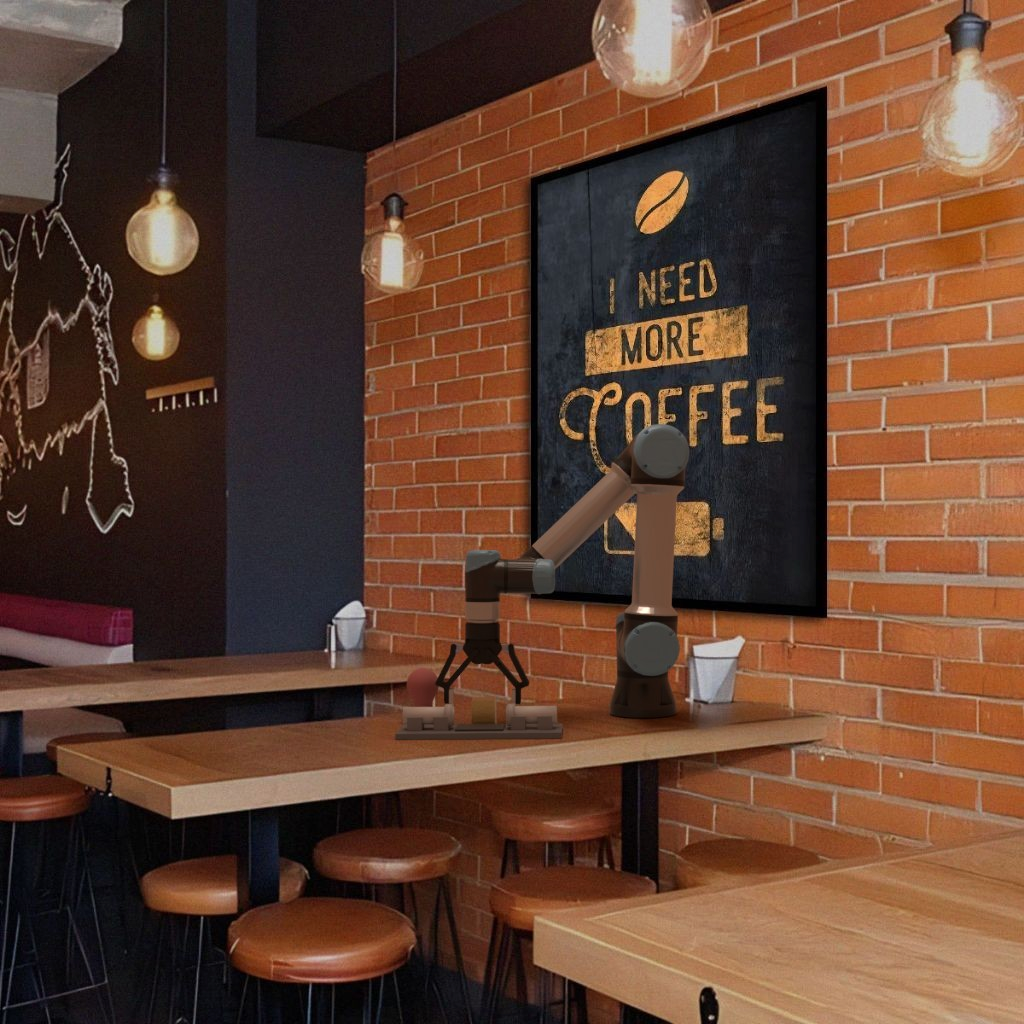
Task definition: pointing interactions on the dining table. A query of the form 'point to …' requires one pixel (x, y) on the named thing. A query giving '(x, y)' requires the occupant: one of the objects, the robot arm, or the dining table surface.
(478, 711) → the block
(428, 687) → the light bulb
